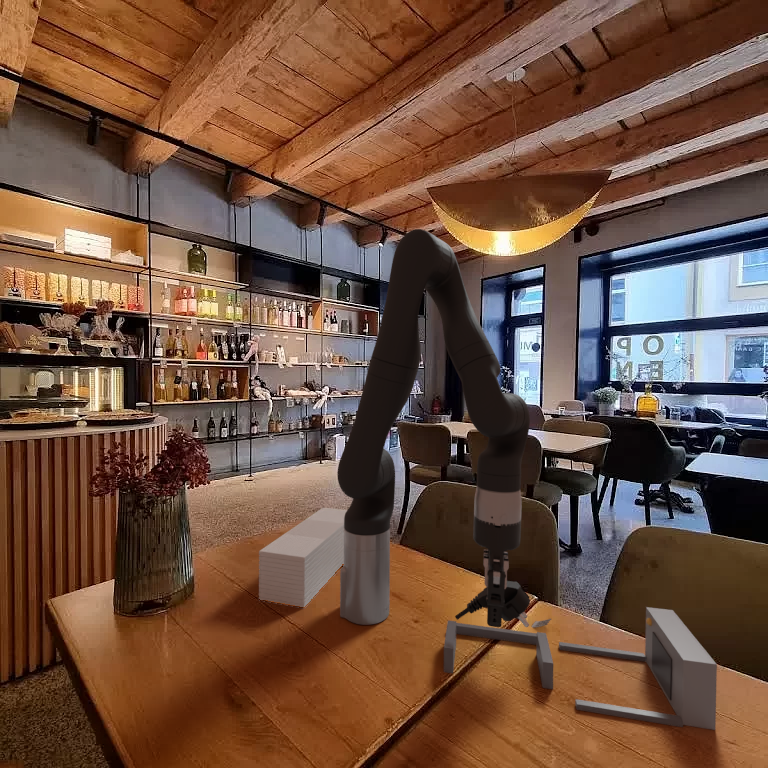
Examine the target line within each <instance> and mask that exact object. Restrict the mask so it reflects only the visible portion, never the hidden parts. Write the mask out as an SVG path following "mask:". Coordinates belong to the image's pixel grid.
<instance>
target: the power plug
mask: <svg viewBox="0 0 768 768" xmlns="http://www.w3.org/2000/svg"><path fill="white" fill-rule="evenodd" d="M487 591H488V588H487V587H486V586H485V587H484V588H483V589H482V590H481V591H480V592H479V593H478V594H477V595H475V597H473V598H472V599H471V600H470V602H468V603H467V604H466V608H465V609H463V610H462V611H460V612H458V614H456V615H455V616H454V617H455V619H456V620H458V621H459V619H461V618H463V617H464V616H465V615H467V614H468V613H469V614H474V613H475V612H477V611H480V610H482V609H483V608H486V607H487V606H488V605H487V602H486V597H487ZM491 595H495V596H500V594H494V593H492V594H491ZM504 601H505V605H504V607H502V620H503V621H505V622H510V621H512V620H514V619H515V620H516V619H517V617H518V618H519V619H518V620H519V621H520V622H521V623H522V624H523V626H524V627H525V628H528V627H530V624H529V622H528V621H527V618H528V614H527V612H526V610H527V609H528V607H529V606H530V604H531V603H530V602H531V599H530V596H529V595H528V594H527V592H526V591H525V589H524V588H522V586H521V584H520V583H518V582H517V581H512V580H511V581H510V580H507V587H506V589H504Z"/></svg>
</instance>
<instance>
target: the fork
mask: <svg viewBox="0 0 768 768" xmlns="http://www.w3.org/2000/svg"><path fill="white" fill-rule="evenodd" d="M485 608H486V609H488V606H487V607H485ZM516 619H518V620H520V619H519V618H518V617H517V618H516ZM551 620H552V618H549V619H544V620H539V621H538V620H535V621H534V622H533V624H532V625H531V628H533V629H534V628H535V629H536V628H541V627H544V626H545V627H546V626H548V624H550V622H551Z"/></svg>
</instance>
